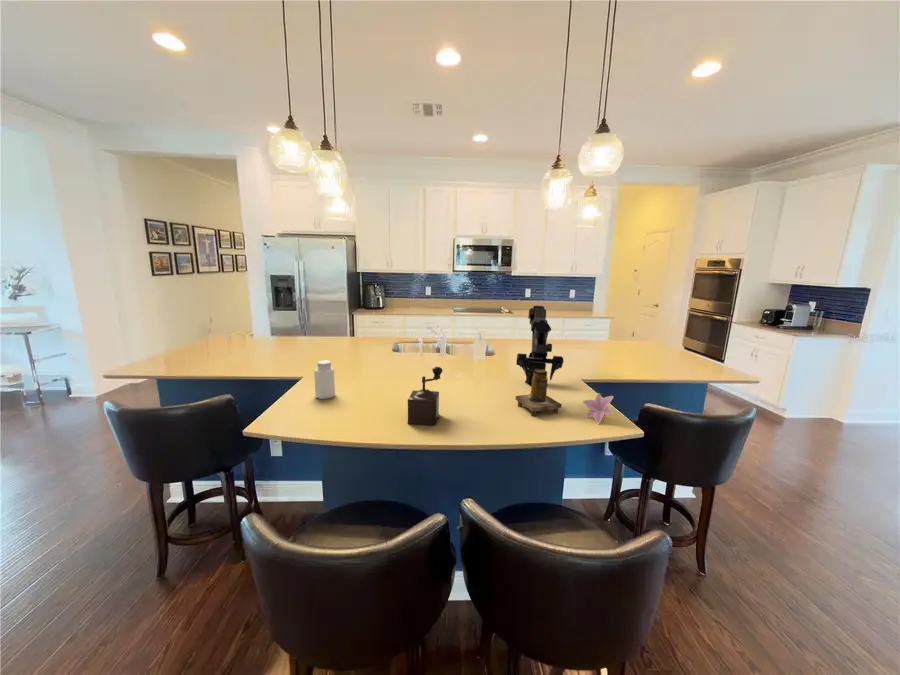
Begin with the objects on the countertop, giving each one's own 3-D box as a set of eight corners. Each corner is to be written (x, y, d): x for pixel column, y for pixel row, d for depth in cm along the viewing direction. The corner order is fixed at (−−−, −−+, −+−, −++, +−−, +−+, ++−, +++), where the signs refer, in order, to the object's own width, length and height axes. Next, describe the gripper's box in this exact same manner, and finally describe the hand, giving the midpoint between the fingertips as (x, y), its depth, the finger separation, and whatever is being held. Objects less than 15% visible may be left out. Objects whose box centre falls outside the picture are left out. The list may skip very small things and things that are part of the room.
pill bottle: (339, 394, 159) (337, 360, 156) (325, 400, 152) (324, 365, 149) (325, 391, 162) (323, 358, 159) (311, 397, 155) (309, 362, 152)
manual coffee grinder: (437, 426, 131) (438, 378, 128) (406, 424, 132) (407, 376, 129) (442, 409, 147) (443, 365, 143) (414, 407, 147) (415, 364, 144)
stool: (541, 401, 157) (542, 392, 156) (560, 413, 145) (561, 404, 144) (514, 405, 153) (515, 396, 152) (532, 417, 141) (532, 407, 140)
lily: (581, 413, 149) (576, 396, 145) (609, 403, 148) (606, 386, 143) (593, 434, 139) (589, 417, 134) (624, 424, 138) (621, 406, 133)
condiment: (545, 396, 152) (547, 368, 150) (549, 404, 144) (552, 374, 142) (527, 395, 152) (529, 367, 150) (530, 403, 144) (533, 374, 142)
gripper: (518, 334, 153) (516, 367, 145) (565, 337, 150) (565, 371, 142) (517, 348, 162) (515, 380, 154) (561, 351, 159) (561, 384, 151)
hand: (539, 379), depth 150 cm, fingers open, 9 cm apart
